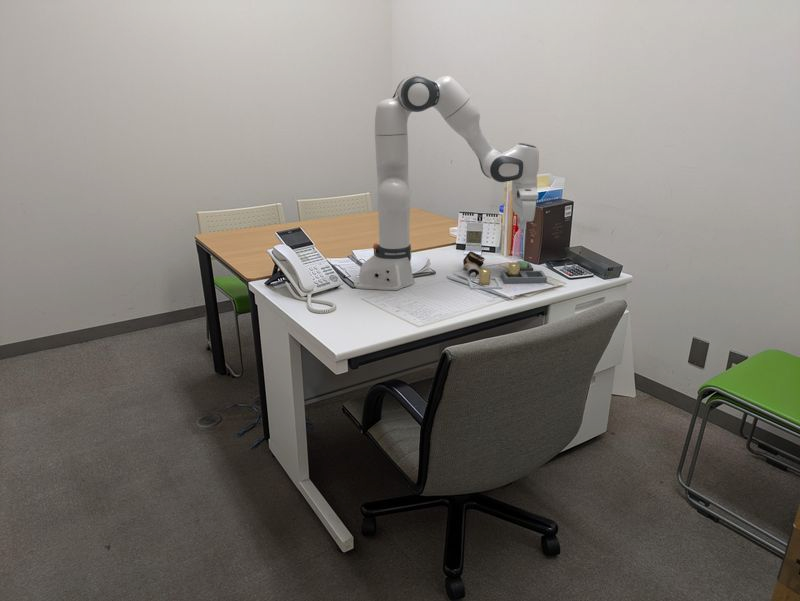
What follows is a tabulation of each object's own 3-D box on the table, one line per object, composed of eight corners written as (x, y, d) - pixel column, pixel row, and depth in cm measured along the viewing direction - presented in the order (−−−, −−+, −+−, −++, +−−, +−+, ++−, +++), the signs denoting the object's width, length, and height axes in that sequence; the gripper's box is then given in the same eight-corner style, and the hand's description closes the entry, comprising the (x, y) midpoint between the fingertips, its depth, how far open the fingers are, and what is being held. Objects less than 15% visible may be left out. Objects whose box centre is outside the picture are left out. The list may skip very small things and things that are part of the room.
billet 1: (479, 287, 195) (479, 271, 193) (477, 283, 199) (478, 268, 196) (490, 287, 195) (491, 271, 193) (488, 283, 199) (489, 268, 196)
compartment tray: (503, 287, 197) (504, 278, 195) (499, 278, 205) (499, 270, 204) (548, 286, 197) (548, 277, 195) (541, 278, 205) (542, 270, 204)
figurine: (468, 266, 199) (467, 246, 211) (457, 283, 204) (456, 262, 216) (489, 277, 201) (487, 256, 213) (477, 293, 205) (476, 272, 218)
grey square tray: (470, 292, 192) (470, 287, 191) (466, 282, 202) (467, 277, 201) (502, 292, 192) (502, 287, 191) (496, 281, 202) (496, 277, 201)
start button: (517, 274, 206) (517, 263, 204) (515, 270, 210) (515, 260, 208) (527, 273, 206) (528, 263, 204) (525, 270, 210) (526, 260, 208)
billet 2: (508, 281, 198) (509, 265, 196) (506, 278, 202) (507, 262, 200) (519, 281, 198) (520, 265, 196) (517, 277, 202) (518, 262, 200)
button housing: (513, 278, 205) (514, 268, 203) (510, 272, 211) (510, 262, 210) (532, 278, 205) (533, 268, 203) (528, 272, 211) (529, 262, 210)
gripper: (509, 185, 205) (506, 221, 210) (521, 195, 186) (518, 235, 191) (526, 185, 205) (523, 221, 210) (539, 195, 186) (536, 235, 191)
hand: (521, 228), depth 201 cm, fingers closed
